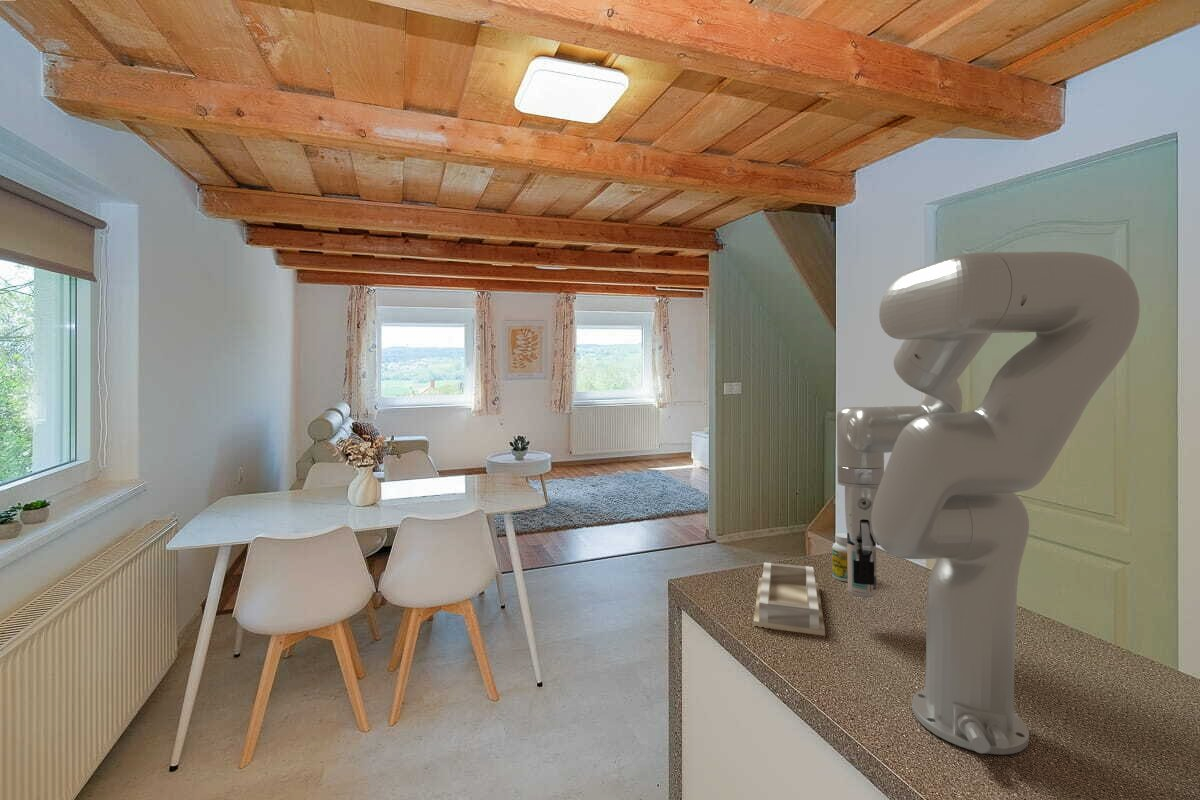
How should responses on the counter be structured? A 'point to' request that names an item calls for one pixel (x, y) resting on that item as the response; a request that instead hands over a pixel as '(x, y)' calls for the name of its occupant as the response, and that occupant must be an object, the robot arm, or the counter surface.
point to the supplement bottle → (840, 557)
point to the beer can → (853, 588)
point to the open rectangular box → (789, 600)
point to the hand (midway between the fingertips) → (861, 577)
